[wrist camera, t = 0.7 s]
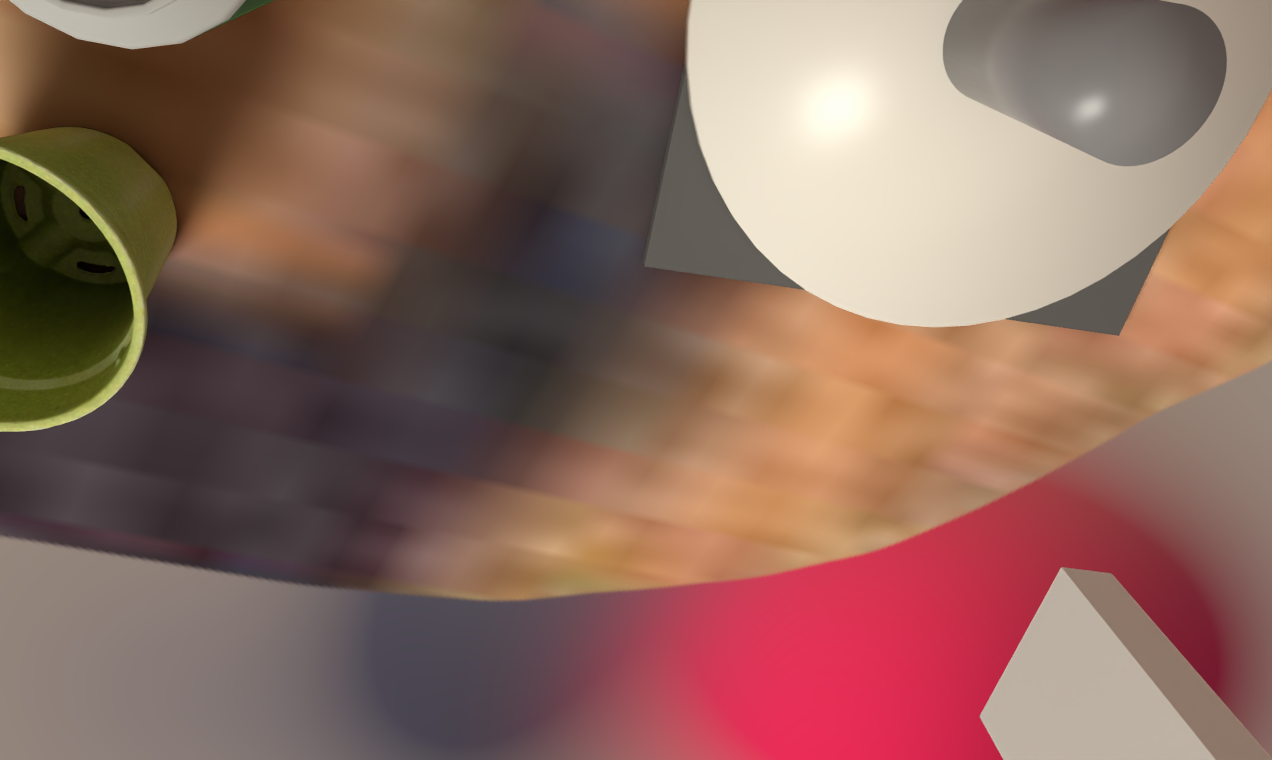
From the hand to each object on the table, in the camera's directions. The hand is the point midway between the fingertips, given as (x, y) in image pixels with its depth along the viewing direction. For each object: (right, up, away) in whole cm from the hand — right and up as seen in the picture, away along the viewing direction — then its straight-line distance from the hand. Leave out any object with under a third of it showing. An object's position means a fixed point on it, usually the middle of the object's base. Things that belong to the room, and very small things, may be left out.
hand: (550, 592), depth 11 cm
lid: (+14, +16, +23) cm, 31 cm away
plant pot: (-19, +9, +24) cm, 32 cm away
